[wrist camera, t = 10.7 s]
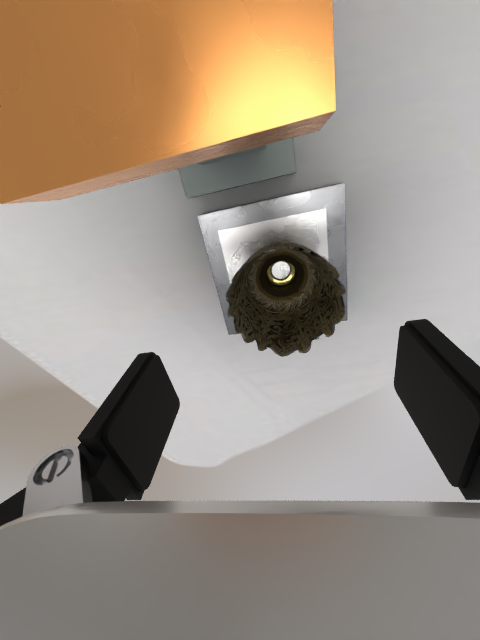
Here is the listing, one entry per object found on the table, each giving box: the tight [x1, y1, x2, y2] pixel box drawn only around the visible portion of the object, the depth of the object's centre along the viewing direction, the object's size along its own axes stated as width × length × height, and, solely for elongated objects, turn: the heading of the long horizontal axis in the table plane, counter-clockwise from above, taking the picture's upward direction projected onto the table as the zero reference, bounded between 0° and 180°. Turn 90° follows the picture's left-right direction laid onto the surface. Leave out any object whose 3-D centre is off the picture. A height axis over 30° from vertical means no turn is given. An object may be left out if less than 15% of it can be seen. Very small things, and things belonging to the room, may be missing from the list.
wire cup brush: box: [226, 242, 346, 357], centre depth 19 cm, size 8×7×8 cm
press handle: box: [0, 0, 336, 204], centre depth 9 cm, size 8×8×12 cm
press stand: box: [178, 138, 296, 198], centre depth 14 cm, size 9×9×12 cm
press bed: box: [197, 183, 347, 335], centre depth 24 cm, size 12×12×2 cm
